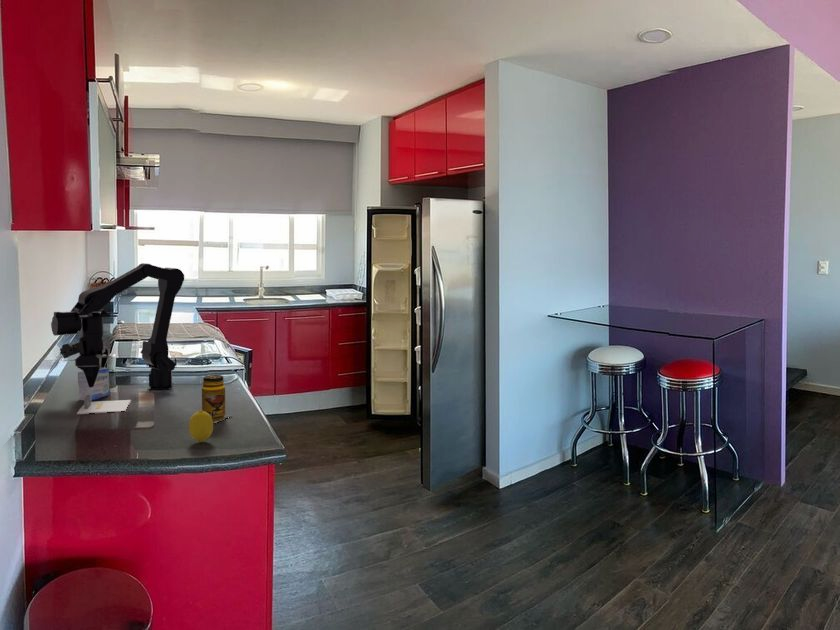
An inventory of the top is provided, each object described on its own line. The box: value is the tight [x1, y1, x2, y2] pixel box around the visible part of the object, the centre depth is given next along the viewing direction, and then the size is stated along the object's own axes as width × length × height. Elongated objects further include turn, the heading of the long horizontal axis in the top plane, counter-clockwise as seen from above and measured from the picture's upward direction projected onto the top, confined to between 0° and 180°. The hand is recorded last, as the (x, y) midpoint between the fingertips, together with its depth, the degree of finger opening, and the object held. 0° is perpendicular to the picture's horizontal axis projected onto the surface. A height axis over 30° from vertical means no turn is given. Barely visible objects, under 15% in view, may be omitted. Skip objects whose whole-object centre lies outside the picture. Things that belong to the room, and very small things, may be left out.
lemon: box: [188, 409, 214, 443], centre depth 145 cm, size 6×6×8 cm
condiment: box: [201, 374, 230, 422], centre depth 164 cm, size 7×8×12 cm
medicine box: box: [77, 367, 110, 402], centre depth 182 cm, size 8×4×9 cm, turn 168°
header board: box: [76, 395, 132, 415], centre depth 172 cm, size 12×12×3 cm
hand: (94, 383), depth 182 cm, fingers open, 9 cm apart
